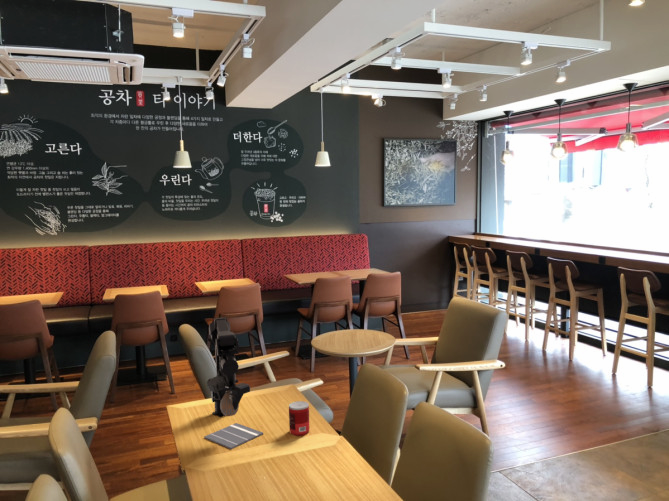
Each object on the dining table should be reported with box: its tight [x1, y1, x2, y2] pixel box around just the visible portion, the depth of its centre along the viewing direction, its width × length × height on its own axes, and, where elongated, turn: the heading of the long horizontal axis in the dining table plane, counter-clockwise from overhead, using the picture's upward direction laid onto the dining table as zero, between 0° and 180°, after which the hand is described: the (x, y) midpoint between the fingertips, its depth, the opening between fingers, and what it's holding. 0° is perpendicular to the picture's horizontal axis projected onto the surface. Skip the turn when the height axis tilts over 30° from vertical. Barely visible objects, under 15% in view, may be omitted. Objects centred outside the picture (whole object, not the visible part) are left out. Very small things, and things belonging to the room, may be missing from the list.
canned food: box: [288, 400, 310, 437], centre depth 206 cm, size 8×8×11 cm
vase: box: [220, 391, 240, 417], centre depth 200 cm, size 7×7×9 cm
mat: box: [203, 422, 264, 450], centre depth 204 cm, size 16×16×1 cm
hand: (229, 407), depth 200 cm, fingers closed on vase, 7 cm apart
